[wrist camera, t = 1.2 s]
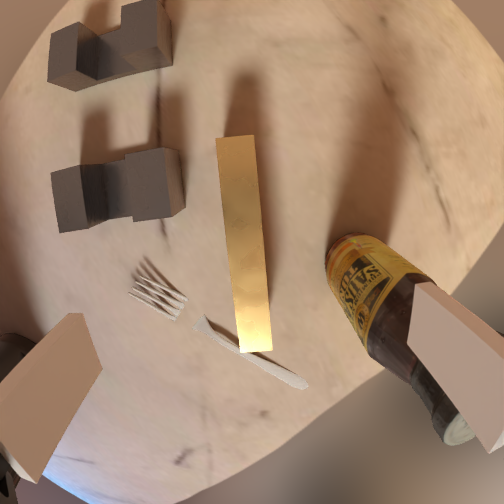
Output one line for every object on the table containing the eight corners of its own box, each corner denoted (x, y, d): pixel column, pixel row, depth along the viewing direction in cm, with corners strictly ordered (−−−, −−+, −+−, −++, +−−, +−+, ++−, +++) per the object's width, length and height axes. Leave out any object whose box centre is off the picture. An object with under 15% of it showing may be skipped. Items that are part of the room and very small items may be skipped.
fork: (313, 402, 33) (316, 412, 31) (131, 289, 28) (125, 296, 27) (332, 385, 32) (336, 395, 30) (147, 265, 28) (141, 271, 26)
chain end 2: (87, 221, 26) (59, 233, 21) (79, 170, 25) (50, 172, 20) (185, 207, 26) (171, 217, 21) (179, 150, 25) (163, 147, 20)
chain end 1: (75, 91, 22) (47, 81, 18) (76, 48, 21) (51, 33, 16) (172, 65, 22) (157, 46, 18) (170, 20, 21) (157, -4, 16)
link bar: (241, 317, 29) (240, 352, 23) (222, 144, 25) (215, 138, 19) (267, 315, 29) (272, 350, 23) (252, 141, 25) (253, 134, 19)
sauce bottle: (326, 227, 27) (468, 353, 7) (387, 233, 27) (551, 334, 8) (316, 295, 28) (400, 473, 9) (375, 297, 29) (493, 441, 9)
